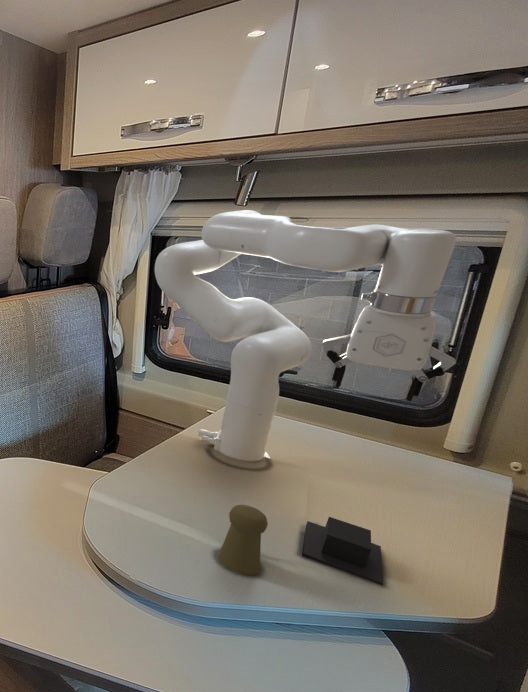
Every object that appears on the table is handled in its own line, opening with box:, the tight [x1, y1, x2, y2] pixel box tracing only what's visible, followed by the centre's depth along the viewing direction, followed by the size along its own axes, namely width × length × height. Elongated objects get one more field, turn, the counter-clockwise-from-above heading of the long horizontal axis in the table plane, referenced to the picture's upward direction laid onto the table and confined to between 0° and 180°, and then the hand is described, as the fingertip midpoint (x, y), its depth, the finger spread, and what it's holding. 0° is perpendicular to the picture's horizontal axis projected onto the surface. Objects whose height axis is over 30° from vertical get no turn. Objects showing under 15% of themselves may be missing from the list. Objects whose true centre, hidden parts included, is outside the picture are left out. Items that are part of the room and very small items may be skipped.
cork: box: [217, 504, 269, 576], centre depth 76 cm, size 6×6×11 cm
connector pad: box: [321, 516, 372, 568], centre depth 78 cm, size 6×6×4 cm
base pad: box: [301, 520, 383, 586], centre depth 78 cm, size 10×10×2 cm
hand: (371, 391), depth 85 cm, fingers open, 9 cm apart
